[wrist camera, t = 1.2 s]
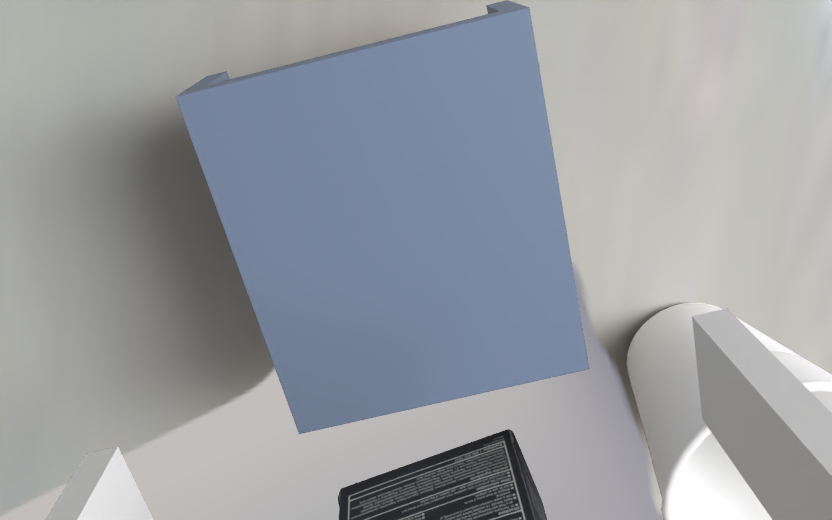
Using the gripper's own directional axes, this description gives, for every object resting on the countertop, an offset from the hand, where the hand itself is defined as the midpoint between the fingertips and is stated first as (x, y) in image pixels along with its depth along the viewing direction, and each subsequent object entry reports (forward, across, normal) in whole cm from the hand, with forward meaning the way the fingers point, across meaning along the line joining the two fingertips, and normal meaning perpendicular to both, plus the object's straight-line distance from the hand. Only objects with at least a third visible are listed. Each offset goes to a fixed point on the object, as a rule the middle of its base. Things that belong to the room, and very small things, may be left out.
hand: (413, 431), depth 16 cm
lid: (+16, 0, 0) cm, 16 cm away
